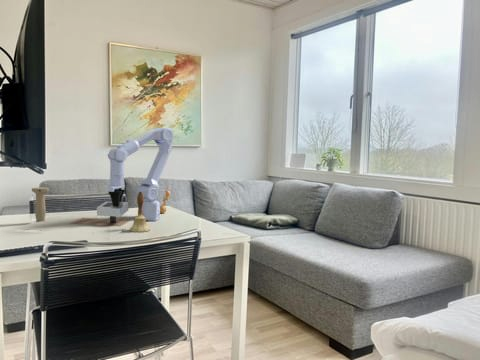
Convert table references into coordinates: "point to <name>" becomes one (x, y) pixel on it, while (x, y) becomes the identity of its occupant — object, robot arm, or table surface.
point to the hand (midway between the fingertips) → (116, 206)
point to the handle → (40, 203)
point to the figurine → (163, 208)
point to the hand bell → (139, 217)
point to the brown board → (100, 221)
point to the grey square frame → (112, 209)
